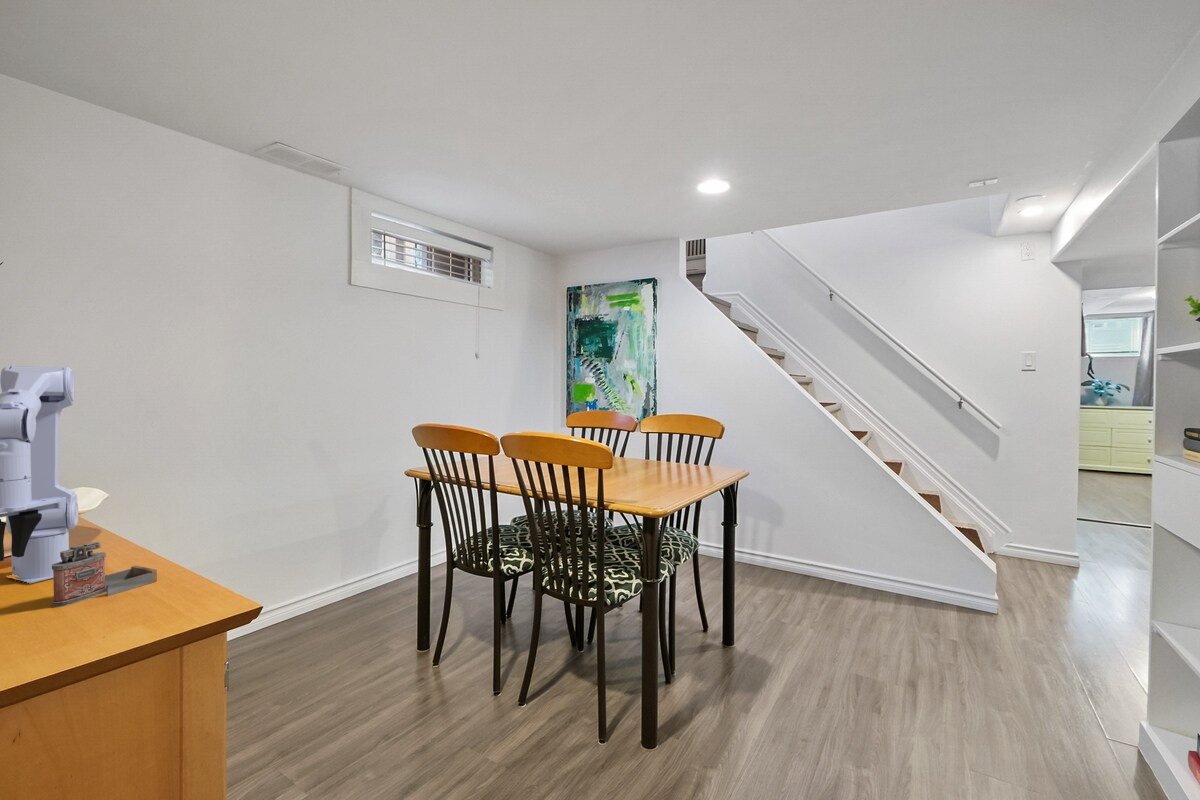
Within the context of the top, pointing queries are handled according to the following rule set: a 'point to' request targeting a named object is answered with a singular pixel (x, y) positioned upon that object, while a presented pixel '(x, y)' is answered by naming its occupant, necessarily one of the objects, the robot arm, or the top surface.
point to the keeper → (129, 579)
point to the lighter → (79, 575)
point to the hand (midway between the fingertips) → (8, 558)
